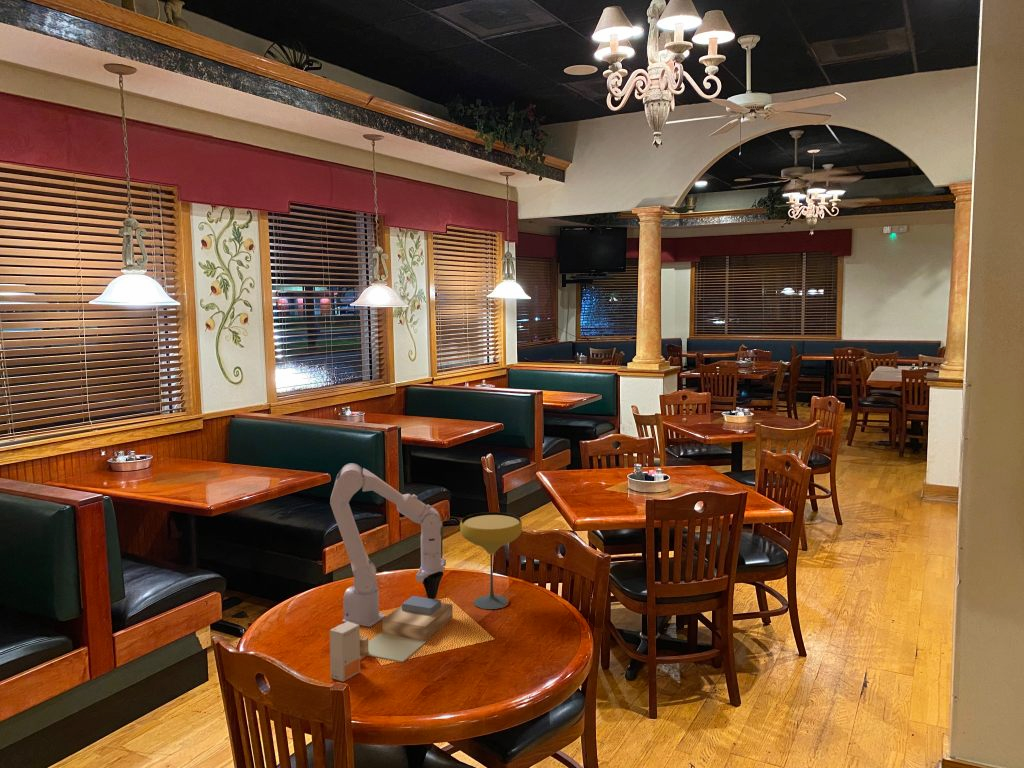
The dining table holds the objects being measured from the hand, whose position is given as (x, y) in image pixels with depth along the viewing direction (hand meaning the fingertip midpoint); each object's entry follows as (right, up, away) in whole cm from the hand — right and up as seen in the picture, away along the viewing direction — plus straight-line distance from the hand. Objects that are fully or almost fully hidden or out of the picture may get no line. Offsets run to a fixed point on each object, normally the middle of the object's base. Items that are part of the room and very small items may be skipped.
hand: (431, 597), depth 217 cm
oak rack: (-17, -8, -25) cm, 32 cm away
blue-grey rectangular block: (-2, -2, -5) cm, 6 cm away
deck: (-3, -6, -7) cm, 9 cm away
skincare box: (-17, -9, -34) cm, 40 cm away
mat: (-8, -7, -20) cm, 23 cm away
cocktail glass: (+17, -4, +9) cm, 19 cm away
